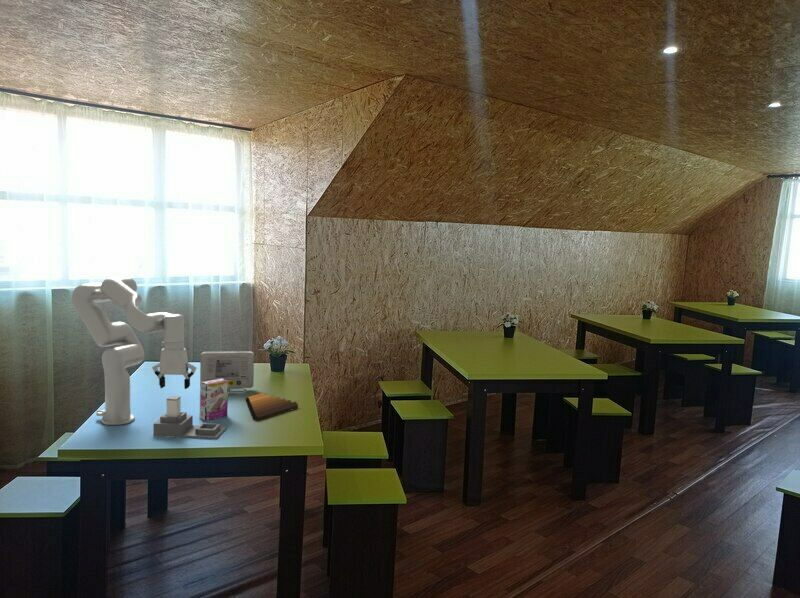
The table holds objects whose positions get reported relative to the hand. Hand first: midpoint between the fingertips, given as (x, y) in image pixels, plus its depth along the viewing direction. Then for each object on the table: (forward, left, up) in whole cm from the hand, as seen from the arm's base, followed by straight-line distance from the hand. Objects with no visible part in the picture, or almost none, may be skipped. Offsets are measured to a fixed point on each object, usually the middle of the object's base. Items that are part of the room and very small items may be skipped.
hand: (174, 387), depth 234 cm
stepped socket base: (+6, 0, -18) cm, 19 cm away
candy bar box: (+9, +19, -18) cm, 28 cm away
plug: (-1, 0, -13) cm, 13 cm away
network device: (+2, +60, -18) cm, 63 cm away
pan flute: (+25, +35, -19) cm, 47 cm away
